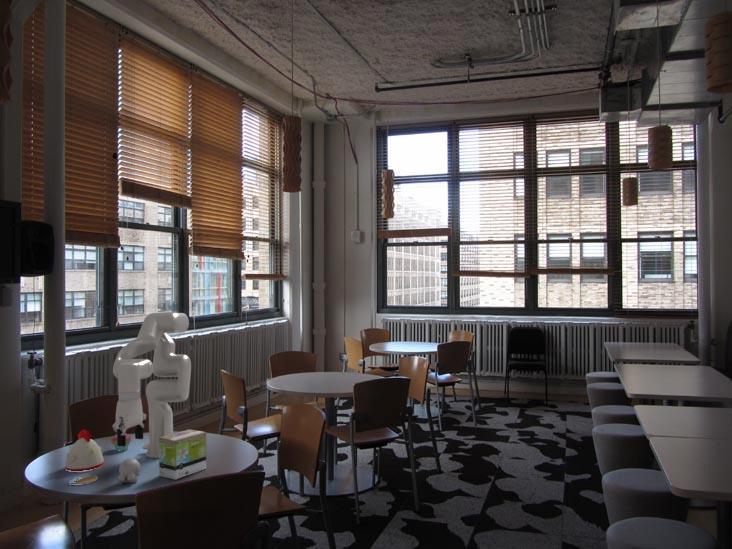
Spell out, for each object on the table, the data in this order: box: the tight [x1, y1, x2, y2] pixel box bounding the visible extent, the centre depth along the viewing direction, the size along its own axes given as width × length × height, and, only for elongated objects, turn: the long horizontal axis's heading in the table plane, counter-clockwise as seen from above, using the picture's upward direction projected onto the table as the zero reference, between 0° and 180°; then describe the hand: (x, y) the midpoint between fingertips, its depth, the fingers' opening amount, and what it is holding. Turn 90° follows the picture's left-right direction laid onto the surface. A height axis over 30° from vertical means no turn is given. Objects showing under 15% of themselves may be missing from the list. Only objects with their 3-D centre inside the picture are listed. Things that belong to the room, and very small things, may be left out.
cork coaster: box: [71, 474, 99, 485], centre depth 220 cm, size 10×10×1 cm
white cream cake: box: [64, 429, 105, 471], centre depth 237 cm, size 14×14×15 cm
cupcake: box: [110, 429, 132, 452], centre depth 261 cm, size 9×8×12 cm
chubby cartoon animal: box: [117, 457, 141, 484], centre depth 220 cm, size 7×12×8 cm, turn 179°
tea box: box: [158, 428, 207, 480], centre depth 228 cm, size 15×10×15 cm
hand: (130, 442), depth 219 cm, fingers open, 9 cm apart
